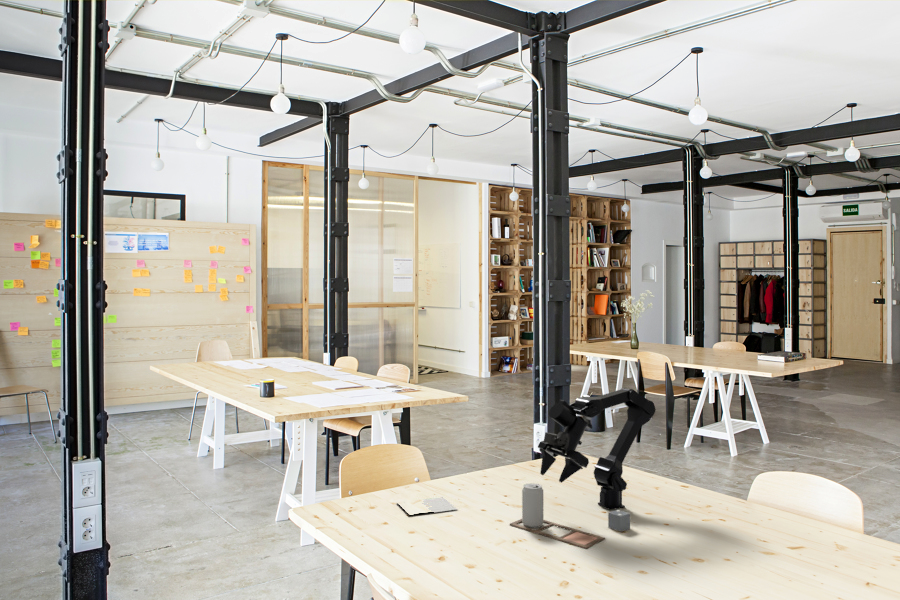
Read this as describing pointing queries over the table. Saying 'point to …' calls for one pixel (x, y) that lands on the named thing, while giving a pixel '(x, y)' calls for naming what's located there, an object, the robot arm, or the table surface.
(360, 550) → the table surface
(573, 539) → the brown divided frame
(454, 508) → the paper stack
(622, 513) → the grey cube
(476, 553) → the table surface
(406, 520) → the table surface
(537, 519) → the beverage can
